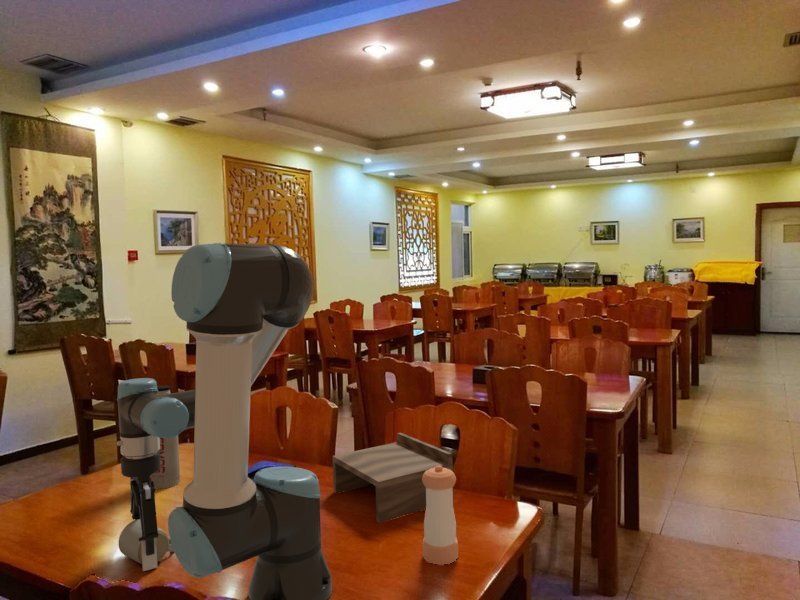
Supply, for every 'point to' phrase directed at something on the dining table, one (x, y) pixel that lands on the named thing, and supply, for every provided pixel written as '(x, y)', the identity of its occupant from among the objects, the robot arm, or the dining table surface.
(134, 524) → the ceramic mug
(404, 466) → the walnut shelf
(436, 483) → the pepper shaker
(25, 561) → the dining table surface
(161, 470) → the thermos bottle
